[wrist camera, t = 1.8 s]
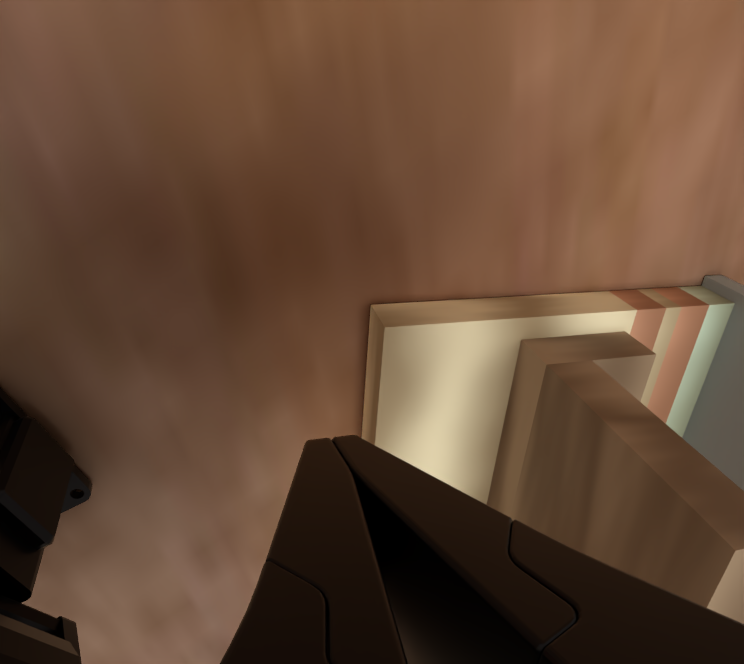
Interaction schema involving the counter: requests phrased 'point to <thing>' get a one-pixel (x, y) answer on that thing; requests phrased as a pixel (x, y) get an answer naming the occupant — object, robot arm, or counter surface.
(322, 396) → the counter surface
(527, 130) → the counter surface
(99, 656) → the counter surface
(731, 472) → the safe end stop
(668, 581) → the bookend block
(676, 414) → the board
